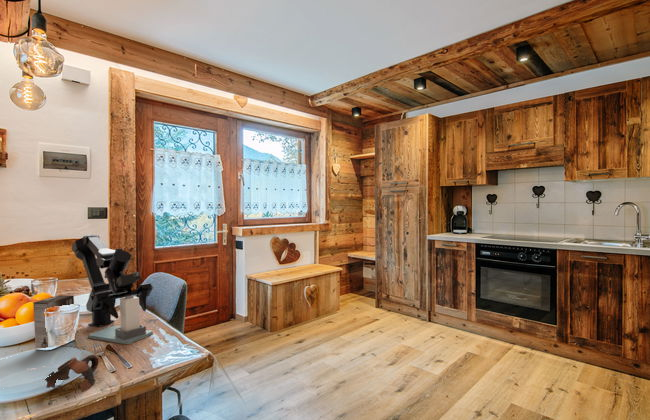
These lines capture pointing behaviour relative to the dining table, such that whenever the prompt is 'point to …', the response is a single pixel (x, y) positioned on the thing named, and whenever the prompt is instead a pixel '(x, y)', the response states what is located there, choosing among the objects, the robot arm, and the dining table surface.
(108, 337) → the socket plate
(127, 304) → the block
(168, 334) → the dining table surface
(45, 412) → the dining table surface
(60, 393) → the dining table surface
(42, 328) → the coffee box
